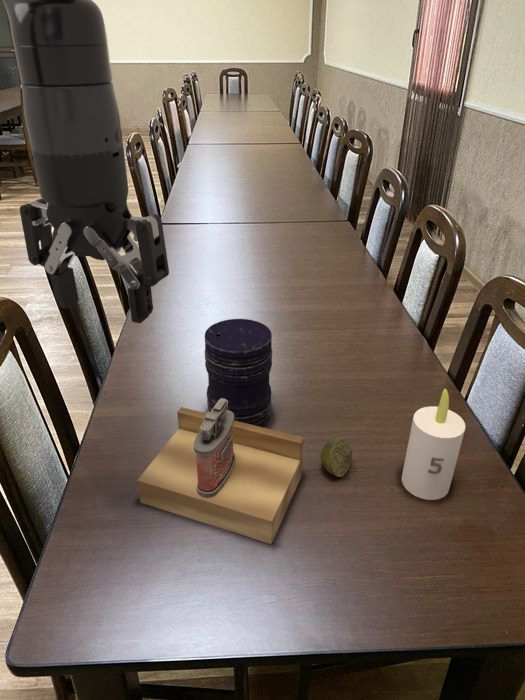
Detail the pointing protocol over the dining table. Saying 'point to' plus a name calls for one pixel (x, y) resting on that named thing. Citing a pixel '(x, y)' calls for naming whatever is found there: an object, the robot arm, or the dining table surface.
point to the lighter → (215, 450)
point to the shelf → (241, 488)
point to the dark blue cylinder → (240, 369)
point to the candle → (433, 450)
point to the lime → (336, 456)
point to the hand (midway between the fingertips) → (104, 312)
